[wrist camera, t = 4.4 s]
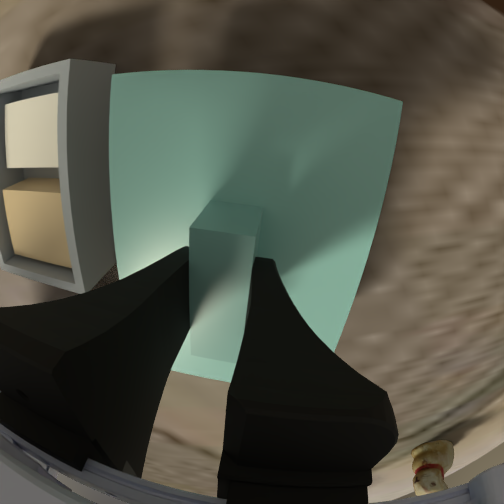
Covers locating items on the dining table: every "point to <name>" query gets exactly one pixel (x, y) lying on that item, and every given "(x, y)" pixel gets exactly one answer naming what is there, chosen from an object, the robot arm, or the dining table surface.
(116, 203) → the lid
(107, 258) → the box
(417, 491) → the chocolate bunny
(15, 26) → the dining table surface
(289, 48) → the dining table surface
